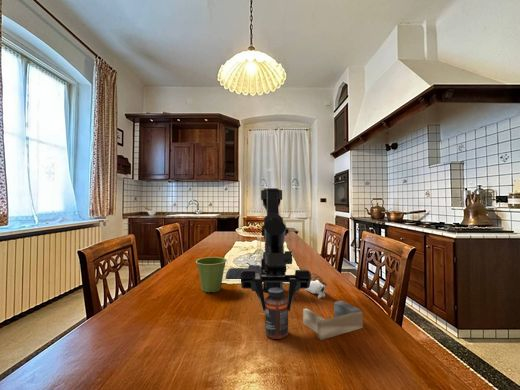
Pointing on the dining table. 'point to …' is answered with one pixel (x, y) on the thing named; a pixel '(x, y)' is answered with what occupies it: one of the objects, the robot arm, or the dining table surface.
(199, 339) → the dining table surface
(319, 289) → the white skull
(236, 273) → the dark slate chunk
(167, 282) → the dining table surface
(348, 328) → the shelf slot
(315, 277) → the pastry
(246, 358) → the dining table surface
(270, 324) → the supplement bottle
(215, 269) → the plant pot
